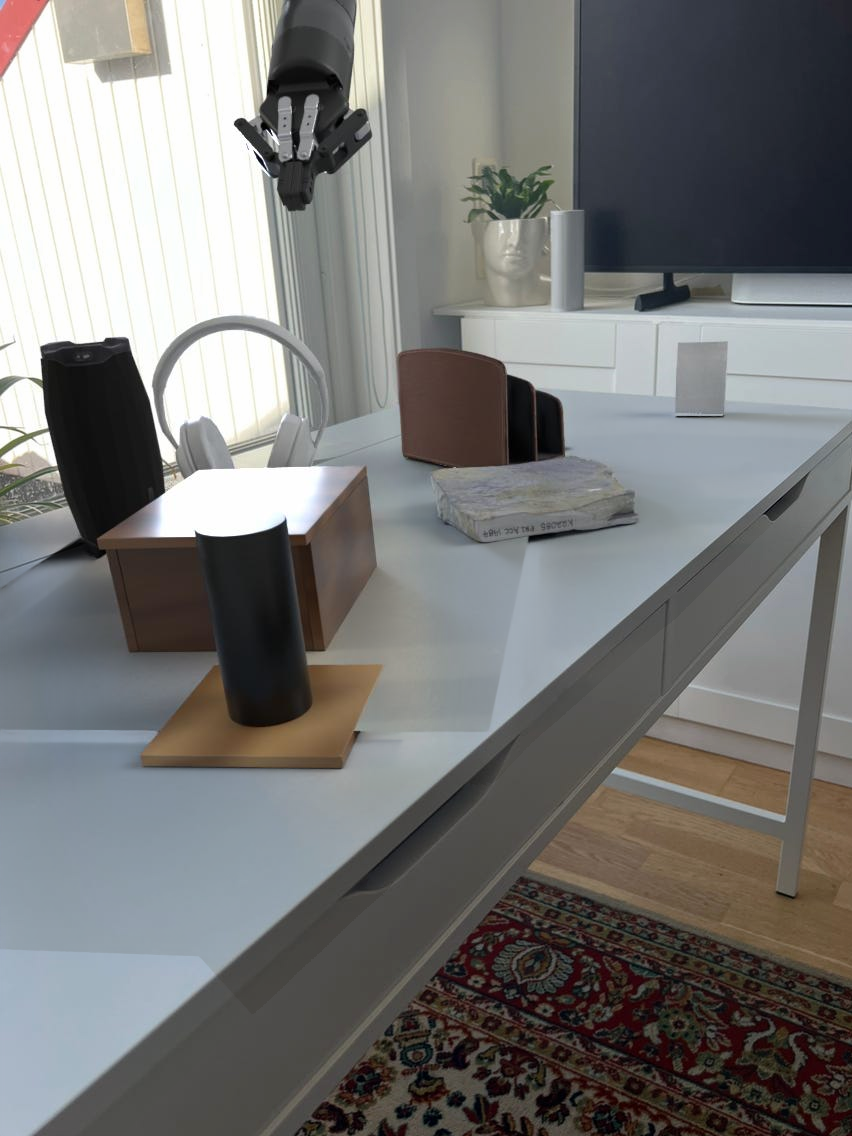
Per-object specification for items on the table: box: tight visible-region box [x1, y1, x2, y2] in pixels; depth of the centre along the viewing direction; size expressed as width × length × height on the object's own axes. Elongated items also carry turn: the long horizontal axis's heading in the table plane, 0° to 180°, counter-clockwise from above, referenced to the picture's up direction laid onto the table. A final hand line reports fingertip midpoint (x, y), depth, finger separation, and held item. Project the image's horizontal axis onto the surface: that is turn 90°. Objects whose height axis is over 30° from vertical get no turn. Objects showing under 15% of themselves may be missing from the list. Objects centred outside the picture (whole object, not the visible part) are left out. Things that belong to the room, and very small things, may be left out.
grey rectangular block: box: [674, 340, 729, 415], centre depth 135 cm, size 4×7×10 cm, turn 75°
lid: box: [97, 464, 368, 550], centre depth 72 cm, size 18×15×1 cm
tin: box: [194, 510, 313, 727], centre depth 57 cm, size 5×5×12 cm
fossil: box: [429, 455, 640, 543], centre depth 97 cm, size 20×5×17 cm
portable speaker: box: [39, 336, 166, 558], centre depth 91 cm, size 9×9×20 cm
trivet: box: [139, 663, 385, 769], centre depth 60 cm, size 12×12×1 cm
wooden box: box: [105, 474, 378, 653], centre depth 75 cm, size 18×15×9 cm
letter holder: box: [396, 347, 566, 468], centre depth 116 cm, size 10×20×14 cm, turn 42°
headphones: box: [151, 313, 330, 480], centre depth 105 cm, size 19×9×20 cm, turn 94°
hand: (293, 203), depth 84 cm, fingers closed
